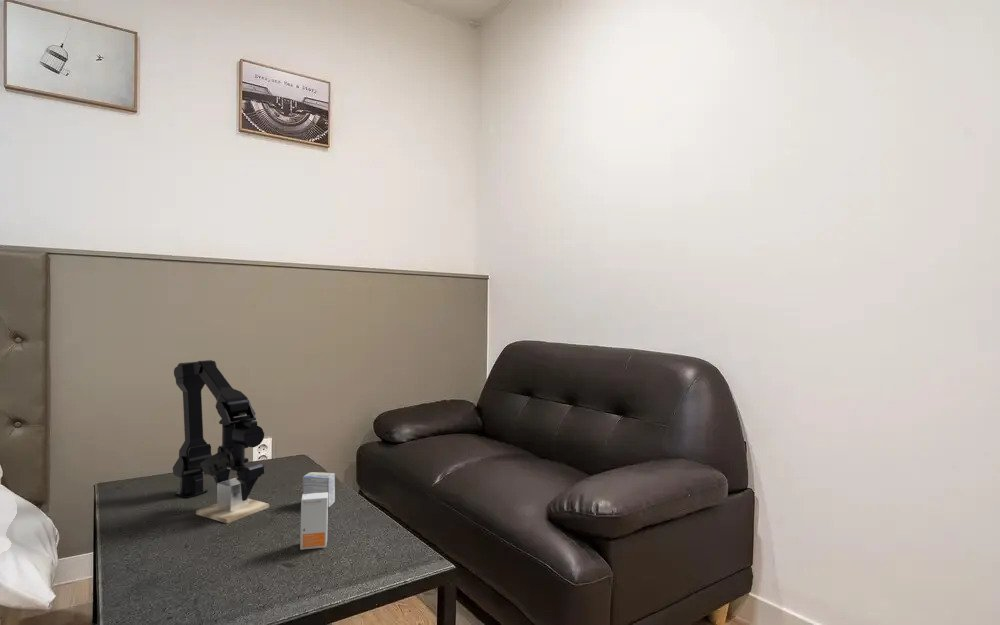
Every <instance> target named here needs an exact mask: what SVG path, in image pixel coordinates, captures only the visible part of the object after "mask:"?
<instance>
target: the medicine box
mask: <svg viewBox="0 0 1000 625" xmlns="http://www.w3.org/2000/svg"><path fill="white" fill-rule="evenodd" d="M335 487H336V473H334V472H319V471H318V472H312V471H311V472H308V473H307V474H305V475H304V476H302V494H312V493H325V492H328V508H330V507H331V506H332V505H333V504H334V503H335V501H336V496H335V495H336V492H335V490H336V488H335Z"/></svg>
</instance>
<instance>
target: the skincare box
mask: <svg viewBox="0 0 1000 625" xmlns="http://www.w3.org/2000/svg"><path fill="white" fill-rule="evenodd" d="M300 503H301V504H300V539H299V547H300V548H299V549H300V550H301V551H302V550H311V549H322V548H323V549H325V548H326V549H327V543H328V525H329V524H328V521H329V520H328V516H329V515H328V511H329V510H328V509H329V507H328V492H325V493H312V494H303V493H302V495H301V500H300Z"/></svg>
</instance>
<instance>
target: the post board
mask: <svg viewBox="0 0 1000 625" xmlns="http://www.w3.org/2000/svg"><path fill="white" fill-rule="evenodd" d="M269 508H270V504H269V503H266V502H264V501H260V500H256V499H252V498H249V506H246V507H244V508H241V509H238V510H236V511H233V512H227V511H224V510H220V509H217V502H216V503H214V504H211V505H208V506H205V507H203V508H199V509H197V510H195V515H197V516H200V517H204V518H208V519H211V520H214V521H218V522H221V523H225V524H230V523H233V522H235V521H238V520H240V519H242V518H246V517H248V516H251V515H253V514H256V513H258V512H261V511H264V510H266V509H269Z"/></svg>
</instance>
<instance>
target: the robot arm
mask: <svg viewBox="0 0 1000 625" xmlns="http://www.w3.org/2000/svg"><path fill="white" fill-rule="evenodd" d="M173 376H174V378H175V384H176V386H177V387H178V388H179V390H180V391H181V392H182V402H183V404H182V405H183V408H182V409H183V430H184V441H183V443H182V444H181V446H180V448H179V451H178V458H177V459H176V461H175V463H174V465H173V467H172V474H173V476H176V477H178V478H179V491H175V493H174V495H175V496H179V497H180V496H181V497H184V498H187V499H188V498H192V497H195V496H199V495H201V494H205V493H207V492H209V490H208V489H206V488H204V475H209V476H211V477H213V479H214V482H215V484H216V485H217V483H220V482H223V481H226V480H229V479H230V478H229V477H230V473H231V471H235V472H236V475H237V477H235V478H236V479H237V480H238V481H239V482H240V483H241V495H242V501H245V500H247V498H248V496H250V494H251V491H252V490H253V488H254V486H255V484H256V483H257V480H258V479H259V478H260V477H262V475H265V473H266V471H265V470H266V468H265V467H266V466H265V465H264V464H263V463H259V462H255V461H253V462H250V463H249V457H247V458H246V449H248V448H256V447H259V445H261V443H262V442H264V441H263V440H264V438H265V432H264V429H263V428H262V427H261V426H259V425H258V421H257V417H256V412H255V410H254V409H253V406H252V404H251V401H250V399H249V398H248V397H247V396H246V395H245V394H244V393H243V392H242V391H240V390H237V389H235V388H233V387H232V386H231V384H230V383H229V382H228V380H227V379H226V377H225V376H224V375H223V374H222V372H221V371H220V370H219V368H218V366H217V363H216V361H215V360H211V359H207V360H206V359H205V360H198V361H191V362H189V361H188V362H187V361H186V362H179V363H178V364H177V365H176V366H175V367H174V369H173ZM205 385H206V387H207V389H208V390H209V391H210V393H211V394H212V395H213V397H214V398H215V400H216V403H215V409H216V410H217V413H218V415H219V417H220V418H221V419H220V420H219V421H218V424H219V425H222V426H221V428H222V429H221V430H222V432H221V435H222V436H221V440H222V441H221V445H218V448H217V452H216V453H215V454H212V445H211V444H210V443H207V441H206V440H205V439H204V424H203V404H202V403H203V402H202V401H203V400H202V390H203V388H204V387H205Z"/></svg>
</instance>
